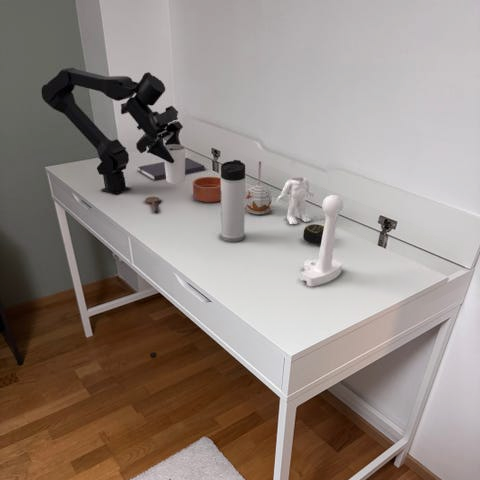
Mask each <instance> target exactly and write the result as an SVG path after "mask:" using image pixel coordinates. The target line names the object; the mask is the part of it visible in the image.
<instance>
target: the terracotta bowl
mask: <svg viewBox="0 0 480 480" xmlns="http://www.w3.org/2000/svg"><path fill="white" fill-rule="evenodd" d="M192 196H193V198H194V199H195V200H197V201H199V202H203V203H217V202H221V177H217V176H202V177H198V178H195V179H193V180H192Z"/></svg>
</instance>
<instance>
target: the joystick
mask: <svg viewBox="0 0 480 480" xmlns="http://www.w3.org/2000/svg"><path fill="white" fill-rule="evenodd" d="M343 208H344V201H343V199H342V198H341V197H340V196H339V195H336V194H330V195H328V196H326V197H325V198H324V199H323V201H322V204H321V209H322V211H323V213H324V214H325V220H324V225H323V226H324V231H323V236H322V242H321V245H320V247H319V254H318V259H307V260H306V261H304V270H303V271H301V272H300V281H303V282H304V281H305V282H306V286H308V287H310V288H311V287H316V286H321V285H323V284H326V283H329V282H330V281H331V282H332V281H333V280H335V279H336V278H337V277H338V276H339V275H341V273H342V269H343V263H342V262H341V261H338V260H336V259H333V256H334V255H333V254H334V247H335V246H334V244H335V235H336V234H335V233H336V225H337V217H338V215H340V214H341V213H342V211H343V210H344V209H343Z"/></svg>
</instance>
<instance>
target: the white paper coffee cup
mask: <svg viewBox="0 0 480 480" xmlns="http://www.w3.org/2000/svg"><path fill="white" fill-rule="evenodd" d="M164 146H165V147H166V149H167V150H168V152H169V153H170V155H171V156H172V158H173V159H174V163H170V162H168V161H166V160H164V159H163V162H165V172H166V178H165V179H166V183H169V184H173V185H175V184H177V185H178V184H183V183H185V182H186V174H185V158H186V146H184V145H182V144H181V145H177V144H171V145H164Z"/></svg>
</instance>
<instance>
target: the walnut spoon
mask: <svg viewBox="0 0 480 480" xmlns="http://www.w3.org/2000/svg"><path fill="white" fill-rule="evenodd" d="M144 201H145V203H146V204H148V205H151V206H152V207H151V208H152V210H153V213H155V214H157V213H158V207H157V206H158V205H157V204H159V203H161V200H160V197H158V196H148V197H146V198H145V200H144Z"/></svg>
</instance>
